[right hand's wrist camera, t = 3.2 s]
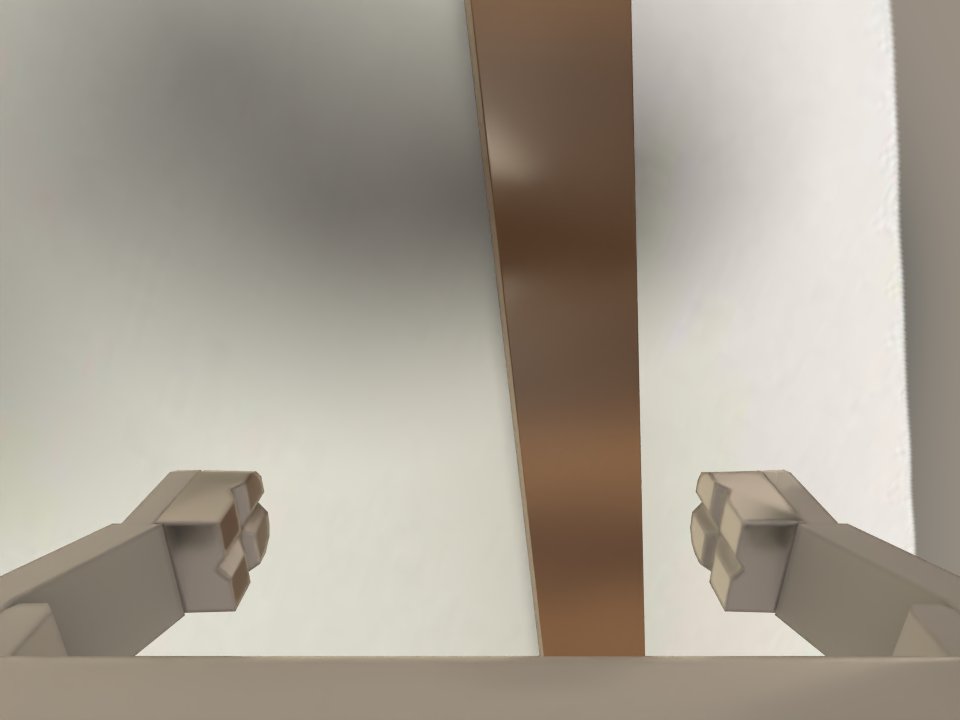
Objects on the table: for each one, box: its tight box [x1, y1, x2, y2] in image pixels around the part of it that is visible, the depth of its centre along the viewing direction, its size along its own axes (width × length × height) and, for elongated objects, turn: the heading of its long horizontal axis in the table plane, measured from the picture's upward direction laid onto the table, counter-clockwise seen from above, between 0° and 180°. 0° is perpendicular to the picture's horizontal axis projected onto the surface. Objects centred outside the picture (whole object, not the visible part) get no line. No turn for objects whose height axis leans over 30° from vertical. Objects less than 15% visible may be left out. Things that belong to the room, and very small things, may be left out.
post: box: [464, 0, 645, 656], centre depth 32 cm, size 66×5×8 cm, turn 7°
